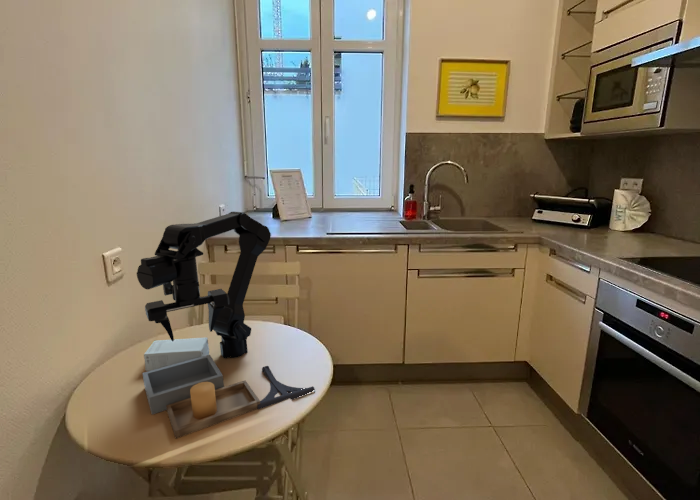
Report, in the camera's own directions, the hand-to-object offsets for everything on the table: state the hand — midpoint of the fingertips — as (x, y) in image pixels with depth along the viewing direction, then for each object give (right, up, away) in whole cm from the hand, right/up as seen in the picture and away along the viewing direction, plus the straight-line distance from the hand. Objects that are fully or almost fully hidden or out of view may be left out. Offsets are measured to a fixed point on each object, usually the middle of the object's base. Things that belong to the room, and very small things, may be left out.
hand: (192, 335), depth 101 cm
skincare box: (-15, -7, +8) cm, 19 cm away
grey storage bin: (-1, -13, -3) cm, 14 cm away
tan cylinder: (+8, -14, -12) cm, 20 cm away
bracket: (+21, -13, -1) cm, 25 cm away
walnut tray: (+9, -15, -11) cm, 21 cm away
